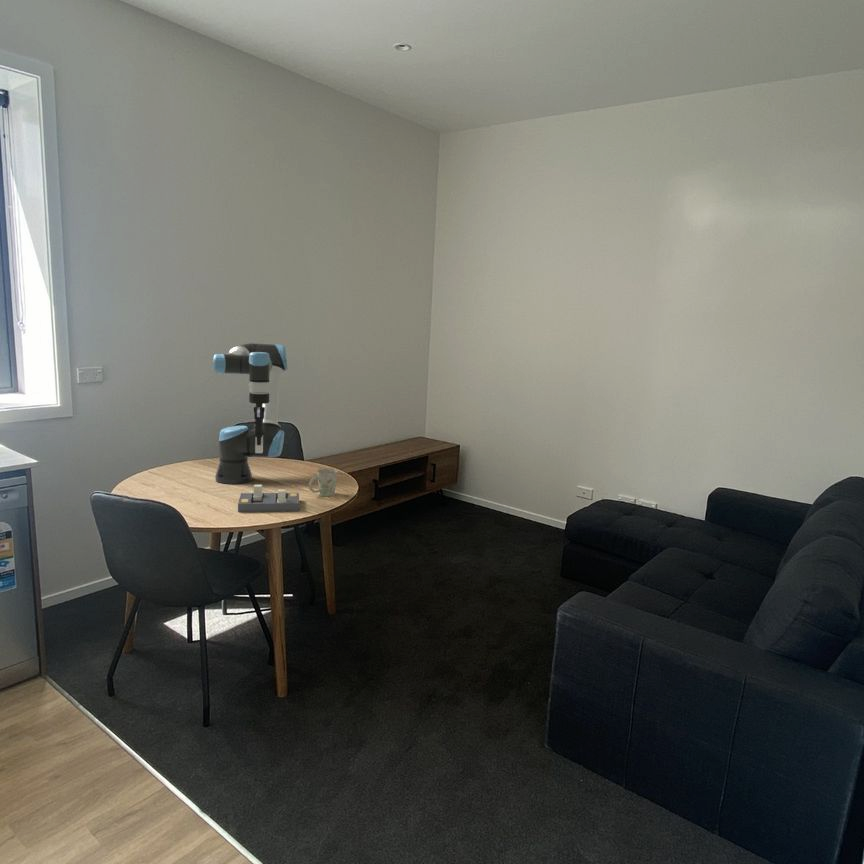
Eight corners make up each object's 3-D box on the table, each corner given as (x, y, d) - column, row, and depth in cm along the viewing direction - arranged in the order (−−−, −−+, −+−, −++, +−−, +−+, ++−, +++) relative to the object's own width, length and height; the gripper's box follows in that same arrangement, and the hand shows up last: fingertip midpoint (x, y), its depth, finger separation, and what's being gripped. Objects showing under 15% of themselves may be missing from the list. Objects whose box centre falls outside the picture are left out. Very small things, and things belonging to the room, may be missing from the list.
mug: (341, 495, 253) (341, 471, 251) (314, 500, 244) (315, 476, 242) (329, 490, 259) (330, 467, 257) (303, 495, 250) (304, 471, 248)
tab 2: (277, 502, 233) (277, 489, 232) (285, 502, 234) (286, 488, 233) (277, 506, 229) (277, 491, 228) (285, 506, 230) (286, 491, 229)
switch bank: (241, 500, 239) (241, 492, 238) (298, 499, 243) (299, 492, 243) (237, 511, 225) (237, 503, 225) (299, 510, 230) (299, 502, 229)
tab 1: (253, 497, 238) (253, 484, 237) (262, 497, 239) (262, 484, 238) (253, 500, 234) (253, 487, 233) (261, 500, 235) (262, 486, 234)
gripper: (250, 389, 243) (250, 447, 247) (247, 394, 228) (247, 456, 232) (270, 390, 244) (269, 448, 249) (268, 395, 230) (268, 456, 234)
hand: (259, 452), depth 241 cm, fingers open, 2 cm apart
